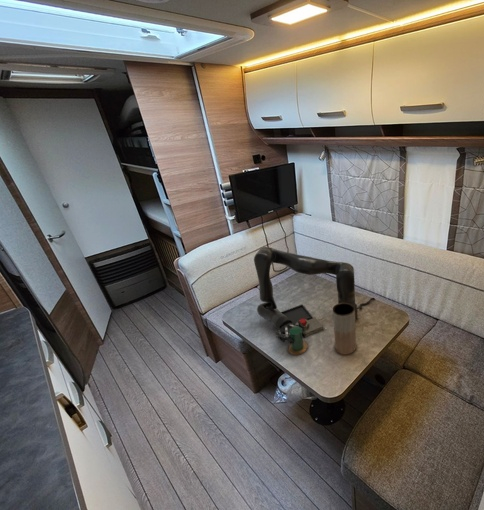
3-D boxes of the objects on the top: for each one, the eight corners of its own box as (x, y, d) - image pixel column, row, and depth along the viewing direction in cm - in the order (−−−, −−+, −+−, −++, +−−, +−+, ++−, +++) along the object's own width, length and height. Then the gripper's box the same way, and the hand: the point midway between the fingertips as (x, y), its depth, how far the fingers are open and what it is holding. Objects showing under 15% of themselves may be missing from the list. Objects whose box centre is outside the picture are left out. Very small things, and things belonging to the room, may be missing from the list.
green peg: (294, 341, 140) (292, 325, 135) (305, 343, 138) (303, 327, 134) (289, 350, 134) (287, 333, 130) (301, 352, 133) (298, 335, 129)
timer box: (315, 320, 156) (314, 314, 154) (323, 329, 148) (322, 323, 147) (295, 327, 151) (294, 321, 149) (302, 338, 143) (301, 331, 141)
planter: (337, 339, 141) (335, 301, 132) (357, 340, 139) (356, 303, 130) (333, 353, 132) (330, 314, 123) (354, 355, 130) (352, 316, 121)
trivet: (303, 339, 142) (302, 338, 142) (310, 350, 135) (310, 349, 135) (286, 346, 138) (286, 345, 138) (292, 357, 131) (292, 356, 131)
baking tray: (302, 306, 168) (302, 304, 168) (312, 319, 157) (312, 316, 156) (275, 316, 161) (274, 314, 160) (283, 330, 149) (283, 327, 149)
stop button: (304, 320, 150) (304, 317, 150) (307, 324, 148) (307, 321, 147) (298, 322, 149) (298, 320, 148) (301, 326, 146) (300, 323, 145)
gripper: (267, 322, 138) (284, 340, 126) (292, 310, 146) (310, 325, 134) (270, 334, 141) (286, 352, 129) (294, 322, 149) (312, 338, 138)
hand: (299, 338), depth 132 cm, fingers closed on green peg, 6 cm apart
